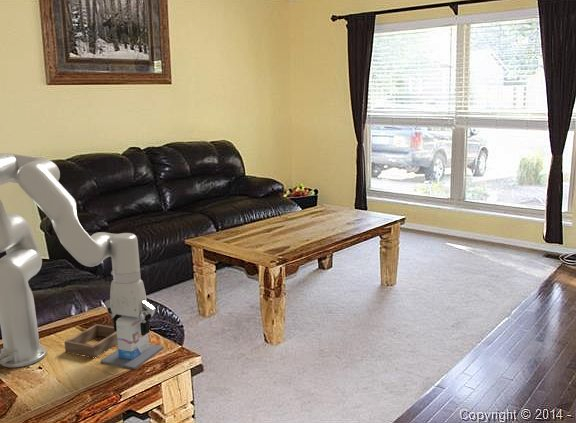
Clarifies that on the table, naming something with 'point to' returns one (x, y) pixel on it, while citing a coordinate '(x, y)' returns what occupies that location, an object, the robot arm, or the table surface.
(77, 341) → the frame
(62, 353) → the table surface
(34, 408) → the table surface
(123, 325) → the ink box
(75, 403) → the table surface
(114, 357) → the rubber mat
